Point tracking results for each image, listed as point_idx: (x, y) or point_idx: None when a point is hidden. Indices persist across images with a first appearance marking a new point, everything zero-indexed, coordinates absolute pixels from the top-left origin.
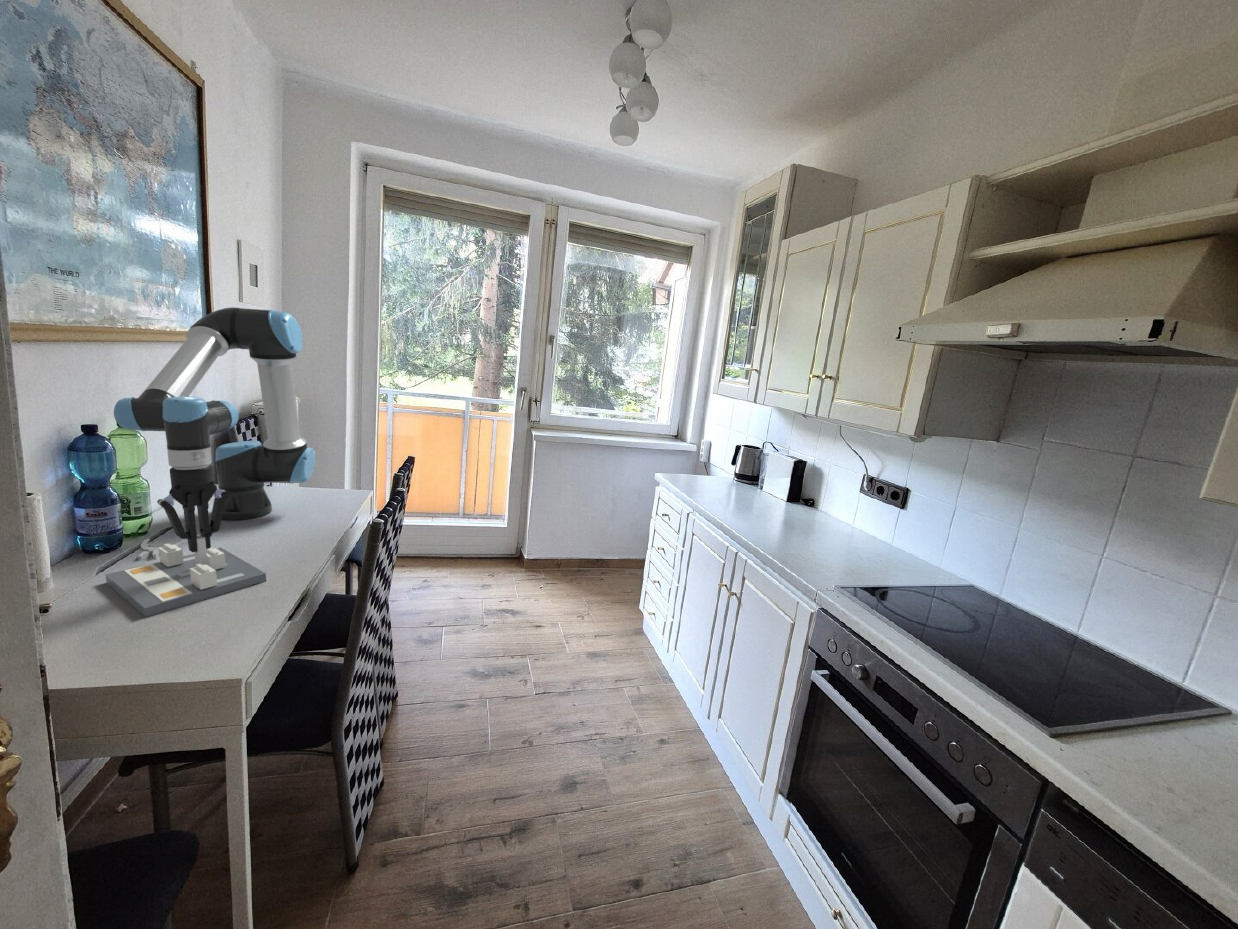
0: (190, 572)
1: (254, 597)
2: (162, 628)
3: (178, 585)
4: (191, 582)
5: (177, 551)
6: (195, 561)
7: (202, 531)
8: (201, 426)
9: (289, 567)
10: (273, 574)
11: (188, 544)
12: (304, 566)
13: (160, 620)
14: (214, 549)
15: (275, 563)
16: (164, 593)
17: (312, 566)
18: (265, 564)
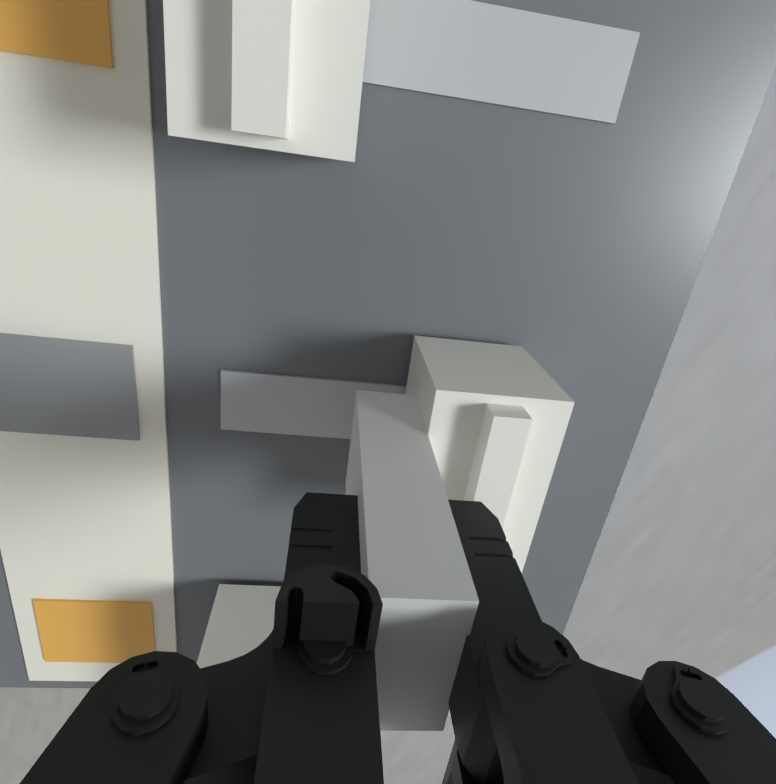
0: (199, 659)
1: (386, 742)
2: (19, 752)
3: (156, 550)
4: (217, 593)
5: (299, 152)
6: (356, 399)
7: (492, 737)
8: None
9: (705, 586)
10: (600, 607)
11: (288, 560)
12: (741, 623)
13: (26, 696)
14: (542, 439)
15: (729, 490)
16: (55, 611)
17: (753, 645)
18: (696, 462)
